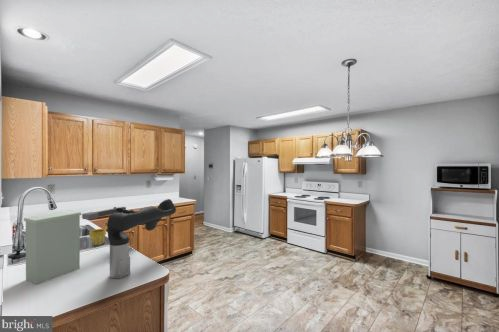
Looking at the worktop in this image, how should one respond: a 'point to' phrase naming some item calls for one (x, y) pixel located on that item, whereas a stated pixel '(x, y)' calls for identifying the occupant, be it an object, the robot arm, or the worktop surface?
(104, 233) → the plant pot
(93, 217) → the long gray t-shaped bar
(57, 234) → the tall capped green box
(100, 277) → the worktop surface
